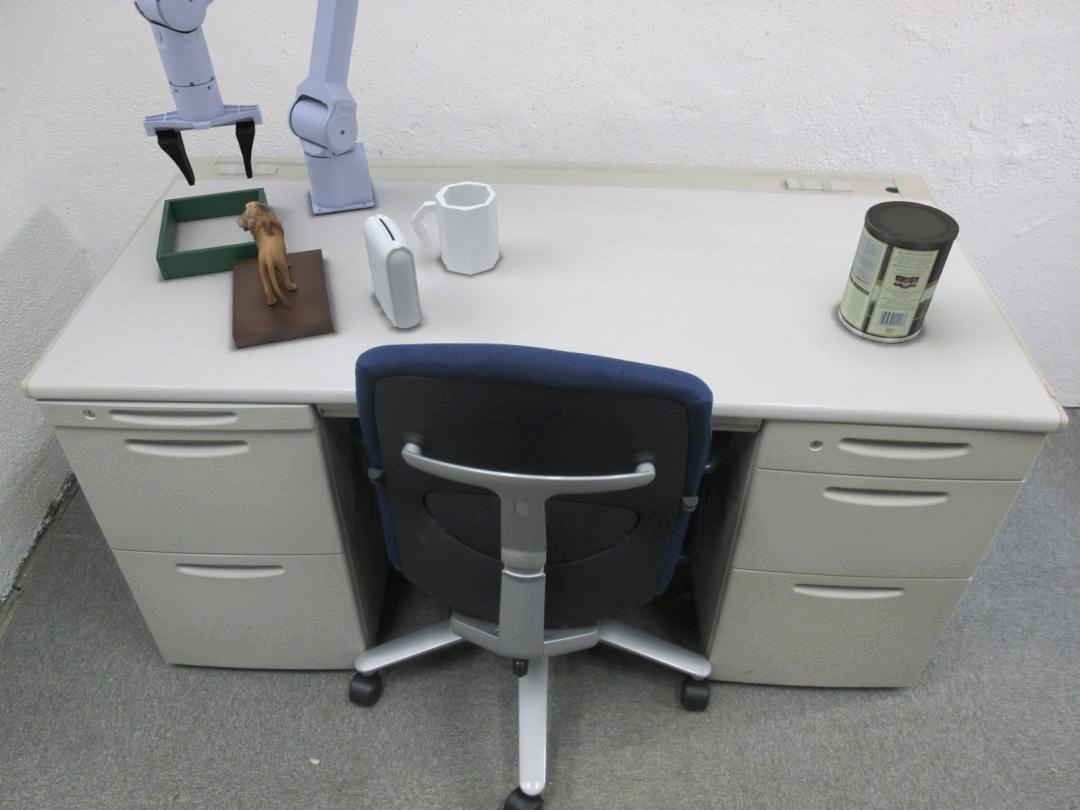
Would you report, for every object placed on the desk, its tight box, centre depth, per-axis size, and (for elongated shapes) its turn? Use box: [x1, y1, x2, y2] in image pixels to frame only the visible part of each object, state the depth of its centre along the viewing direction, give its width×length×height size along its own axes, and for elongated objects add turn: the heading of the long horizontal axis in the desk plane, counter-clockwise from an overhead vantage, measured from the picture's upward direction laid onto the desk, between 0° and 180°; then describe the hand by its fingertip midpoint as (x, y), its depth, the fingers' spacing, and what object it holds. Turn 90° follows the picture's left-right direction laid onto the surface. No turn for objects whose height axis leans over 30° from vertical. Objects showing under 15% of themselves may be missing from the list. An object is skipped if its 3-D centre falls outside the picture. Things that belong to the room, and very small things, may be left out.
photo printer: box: [363, 213, 423, 329], centre depth 100 cm, size 10×4×12 cm, turn 26°
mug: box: [410, 180, 500, 276], centre depth 110 cm, size 12×9×10 cm
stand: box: [231, 248, 335, 349], centre depth 104 cm, size 12×18×2 cm, turn 16°
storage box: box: [155, 187, 270, 280], centre depth 116 cm, size 15×18×4 cm
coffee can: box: [837, 200, 960, 344], centre depth 96 cm, size 10×10×14 cm
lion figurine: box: [235, 201, 297, 306], centre depth 102 cm, size 15×5×9 cm, turn 28°
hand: (221, 178), depth 109 cm, fingers open, 7 cm apart
